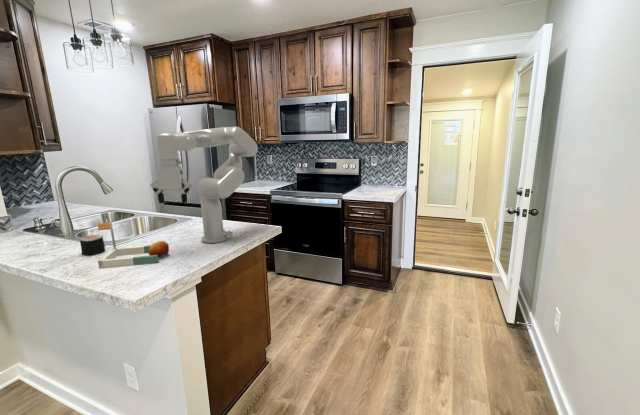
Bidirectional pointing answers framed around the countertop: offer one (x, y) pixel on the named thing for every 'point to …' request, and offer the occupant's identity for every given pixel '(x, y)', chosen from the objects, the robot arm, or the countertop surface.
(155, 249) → the fruit
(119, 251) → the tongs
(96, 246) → the sushi
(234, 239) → the countertop surface
